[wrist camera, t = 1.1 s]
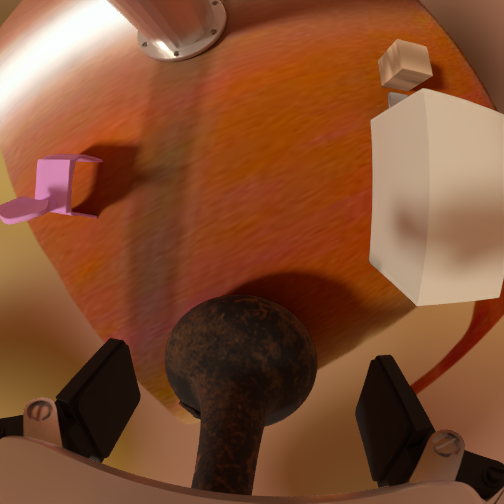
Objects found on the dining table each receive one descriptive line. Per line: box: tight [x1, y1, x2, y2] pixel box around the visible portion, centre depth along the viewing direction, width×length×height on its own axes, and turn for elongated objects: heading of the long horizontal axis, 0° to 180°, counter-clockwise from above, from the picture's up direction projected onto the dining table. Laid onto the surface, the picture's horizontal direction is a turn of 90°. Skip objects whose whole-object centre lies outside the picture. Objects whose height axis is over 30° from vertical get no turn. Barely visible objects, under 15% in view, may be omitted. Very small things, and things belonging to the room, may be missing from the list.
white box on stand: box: [369, 88, 504, 306], centre depth 25 cm, size 18×14×14 cm
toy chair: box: [0, 154, 103, 224], centre depth 27 cm, size 8×9×15 cm
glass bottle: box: [165, 294, 317, 496], centre depth 24 cm, size 18×18×28 cm
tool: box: [378, 39, 433, 108], centre depth 26 cm, size 20×4×7 cm, turn 1°
